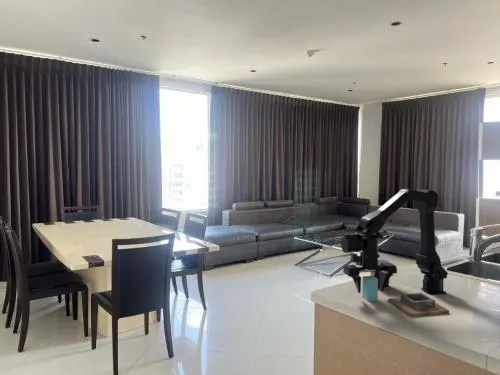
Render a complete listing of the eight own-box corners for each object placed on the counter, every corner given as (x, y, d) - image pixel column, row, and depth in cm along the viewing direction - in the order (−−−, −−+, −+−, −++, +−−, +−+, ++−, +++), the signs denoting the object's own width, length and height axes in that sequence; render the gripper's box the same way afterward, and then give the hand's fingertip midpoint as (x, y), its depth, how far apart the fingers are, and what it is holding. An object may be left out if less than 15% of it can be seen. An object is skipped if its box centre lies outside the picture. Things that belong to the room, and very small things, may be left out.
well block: (423, 298, 139) (423, 289, 138) (448, 313, 125) (449, 303, 125) (388, 301, 137) (388, 292, 136) (409, 316, 123) (409, 306, 123)
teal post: (372, 296, 142) (372, 275, 142) (377, 300, 138) (377, 278, 138) (362, 297, 142) (362, 276, 141) (367, 301, 138) (367, 279, 137)
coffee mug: (393, 289, 149) (393, 265, 148) (370, 288, 150) (370, 264, 150) (388, 280, 160) (388, 257, 159) (367, 279, 162) (367, 257, 161)
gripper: (382, 244, 148) (383, 283, 149) (337, 247, 145) (338, 286, 146) (397, 251, 137) (397, 292, 138) (349, 254, 134) (349, 296, 135)
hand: (370, 292), depth 140 cm, fingers open, 8 cm apart
